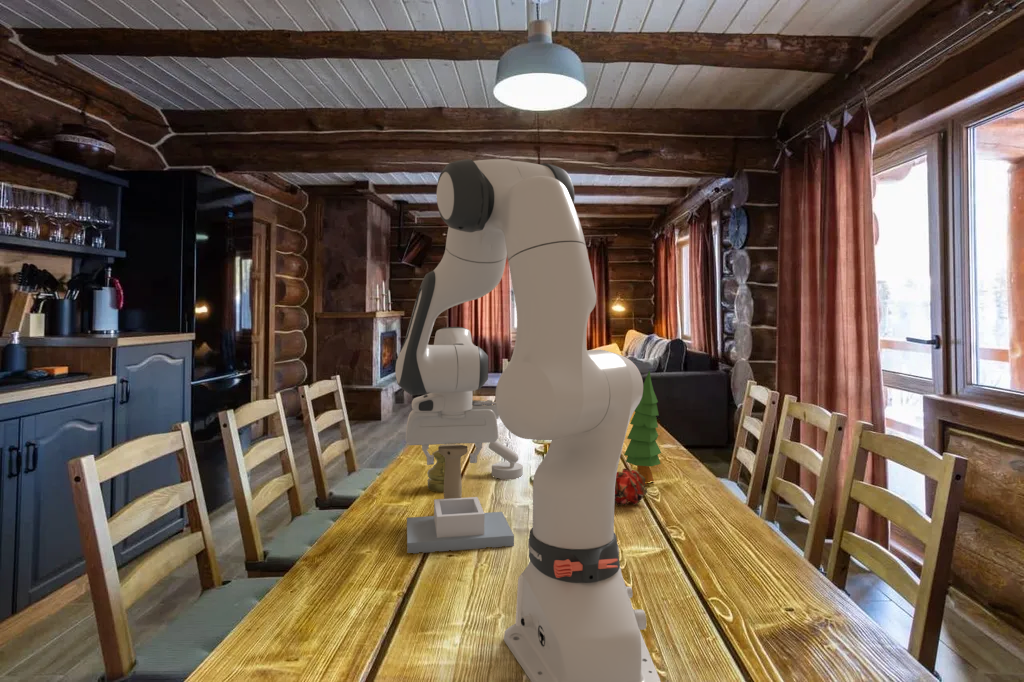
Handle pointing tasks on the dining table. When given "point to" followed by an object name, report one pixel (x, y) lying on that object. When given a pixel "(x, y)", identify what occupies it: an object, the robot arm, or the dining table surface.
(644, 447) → the decorative tree
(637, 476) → the dragon fruit
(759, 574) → the dining table surface
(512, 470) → the wall hook
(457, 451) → the handle
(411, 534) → the grey base with socket
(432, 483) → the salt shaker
